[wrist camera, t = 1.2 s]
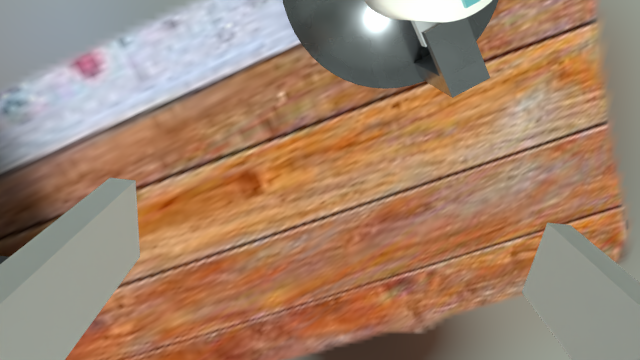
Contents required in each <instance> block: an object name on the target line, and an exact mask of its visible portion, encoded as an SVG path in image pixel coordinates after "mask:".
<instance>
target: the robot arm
mask: <svg viewBox="0 0 640 360" xmlns="http://www.w3.org/2000/svg"><path fill="white" fill-rule="evenodd" d="M139 257H140V249H139V232H138V215H137V198H136V182H135V180H126V179H116V178H109V179H108V180H107V181H105V182H104V183H103V184H102V185H100V186H99V187H98V188H97V189H95V190H94V191H93V192H91V193H90V194H89V195H88V196H86V197H85V198H84V199H83V200H81V201H80V202H79V203H78V204H76V205H75V206H74V207H72V208H71V209H70V210H69V211H67V212H66V213H65V214H64V215H62V216H61V217H60V218H58V219H57V220H56V221H55V222H53V223H52V224H51V225H50V226H48V227H47V228H46V229H44V230H43V231H42V232H41V233H39V234H38V235H37V236H36V237H34V238H33V239H32V240H31V241H29V242H28V243H27V244H25V245H24V246H23V247H22V248H20V249H19V250H18V251H17V252H15V253H14V254H13V255H11V256H10V257H7V256H0V360H65V359H66V357H67V356H68V354H69V353H70V352H71V350H72V349H73V348H74V346H75V345H76V343H77V342H78V341H79V339H80V338H81V337H82V335H83V334H84V333H85V331H86V330H87V328H88V327H89V326H90V324H91V323H92V322H93V320H94V319H95V317H96V316H97V315H98V313H99V312H100V311H101V309H102V308H103V307H104V305H105V304H106V302H107V301H108V300H109V298H110V297H111V296H112V294H113V293H114V292H115V290H116V289H117V287H118V286H119V285H120V283H121V282H122V281H123V279H124V278H125V276H126V275H127V274H128V272H129V271H130V270H131V268H132V267H133V266H134V264H135V263H136V261H137V260H138V259H139ZM522 293H523V295H524V296H525V297H526V298H527V300H528V301H529V303H530V304H531V305H532V307H533V308H534V309H535V311H536V312H537V314H538V315H539V316H540V318H541V319H542V320H543V322H544V323H545V324H546V326H547V327H548V328H549V330H550V331H551V333H552V334H553V335H554V337H555V338H556V339H557V341H558V342H559V343H560V345H561V346H562V347H563V349H564V350H565V351H566V353H567V354H568V356H569V357H570V358H571V359H572V360H640V283H639V282H638V281H637V280H636V279H635V278H633V277H632V276H631V275H630V274H629V273H627V272H626V271H625V270H624V269H623V268H621V267H620V266H619V265H618V264H617V263H615V262H614V261H613V260H612V259H611V258H609V257H608V256H607V255H606V254H604V253H603V252H602V251H601V250H600V249H598V248H597V247H596V246H595V245H594V244H592V243H591V242H590V241H589V240H588V239H586V238H585V237H584V236H583V235H582V234H580V233H579V232H578V231H577V230H575V229H574V228H573V227H572V226H571V225H564V224H554V223H547V226H546V228H545V231H544V234H543V236H542V239H541V242H540V244H539V247H538V250H537V253H536V255H535V258H534V261H533V263H532V266H531V269H530V271H529V274H528V277H527V280H526V282H525V285H524V288H523V290H522Z"/></svg>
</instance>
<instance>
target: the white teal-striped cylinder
mask: <svg viewBox="0 0 640 360" xmlns="http://www.w3.org/2000/svg"><path fill="white" fill-rule="evenodd" d="M364 1H365V3H366V4H367V5H368V6H369V7H370V8H371V9H372V10H373V11H374V12H376V13H377V14H379V15H381V16H383V17H386V18H390V19H398V20H411V22H412V25H413V27H414V29H415V32H416V34H417V36H418V39H419V41H420V43H421V45H422V46H424V47H427V45H426V43H425V40H424V38H423V36H422V33H421V32H423V31H424V30H426V29H428V28H430V27H431V26H433V25H435V24H437V23H439V22H452V21H457V20H460V19H463V18H466V17H468V16H471V15H473V14H475V13H476V12H478V11H480V10H481V9H483V8H484V7H485V6H486V5H488V4H489V3H490V2H491V1H492V0H364Z"/></svg>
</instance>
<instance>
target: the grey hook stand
mask: <svg viewBox="0 0 640 360" xmlns="http://www.w3.org/2000/svg"><path fill="white" fill-rule="evenodd" d="M497 3H498V0H492V1H491V2H490V3H489V4H488V5H486V6H485V7H484V8H483V9H481V10H480V11H478V12H476V13H475V14H473V15H471V16H468V17H466V18H463V19H460V20H457V21H452V22H439V23H437V24H435V25H433V26H431V27H430V28H428V29H426V30H424V31H423V32H421V33H422V36H423V38H424V40H425V43H426V45H427V47H424V46H422V45H421V43H420V41H419V39H418V36H417V34H416V32H415V29H414V27H413V25H412V22H411V20H398V19H390V18H386V17H383V16H381V15H379V14H377V13H376V12H374V11H373V10H372V9H371V8H370V7H369V6H368V5H367V4H366V3H365V1H364V0H283V4H284V7H285V10H286V13H287V16H288V19H289V21H290V24H291V26H292V28H293V30H294V32H295V34H296V35H297V37H298V39H299V40H300V42H301V43H302V45H303V46H304V47H305V49H306V50H307V51H308V52H309V53H310V55H311V56H312V57H313V58H314V59H315V60H316V61H317V62H319V63H320V64H321V65H322V66H323V67H324V68H326V69H327V70H329V71H330V72H331V73H333V74H335V75H337V76H338V77H340V78H342V79H344V80H347V81H349V82H352V83H355V84H357V85H362V86H367V87H372V88H399V87H404V86H410V85H413V84H416V83H419V82H423V81H426V82H428V83H429V84H431V85H433V86H434V87H436V88H438V89H439V90H441V91H442V92H444V93H446V94H447V95H449V96H451V97H452V98H453V97H454V96H456V95H458V94H460V93H462V92H464V91H466V90H468V89H470V88H472V87H474V86H475V85H477V84H479V83H481V82H483V81H485V80H487V79H489V78H490V76H489V74H488V71H487V69H486V66H485V63H484V61H483V58H482V56H481V53H480V50H479V48H478V45H477V43H476V41H477V39H478V38H479V37H480V35H481V34H482V32H483V31H484V29H485V27H486V26H487V24H488V23H489V21H490V19H491V17H492V14H493V12H494V10H495V8H496V5H497Z"/></svg>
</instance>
